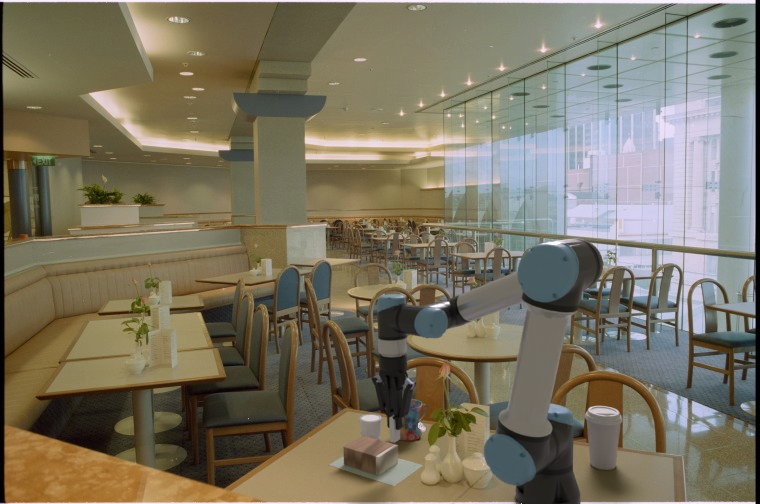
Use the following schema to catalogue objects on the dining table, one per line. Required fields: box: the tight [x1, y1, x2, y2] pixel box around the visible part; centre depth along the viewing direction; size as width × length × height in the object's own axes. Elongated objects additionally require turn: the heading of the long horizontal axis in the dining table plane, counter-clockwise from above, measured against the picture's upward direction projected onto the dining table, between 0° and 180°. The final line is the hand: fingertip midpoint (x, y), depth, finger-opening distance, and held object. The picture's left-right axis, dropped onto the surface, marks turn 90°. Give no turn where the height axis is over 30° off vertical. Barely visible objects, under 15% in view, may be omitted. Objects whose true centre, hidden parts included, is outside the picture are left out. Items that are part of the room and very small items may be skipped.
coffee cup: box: [584, 405, 623, 471], centre depth 160 cm, size 10×10×15 cm
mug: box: [400, 398, 428, 442], centre depth 181 cm, size 12×9×11 cm
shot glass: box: [358, 413, 382, 440], centre depth 180 cm, size 7×7×7 cm
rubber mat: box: [328, 455, 424, 487], centre depth 162 cm, size 22×14×1 cm, turn 54°
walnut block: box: [343, 436, 399, 475], centre depth 162 cm, size 5×9×12 cm
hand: (395, 440), depth 157 cm, fingers closed
